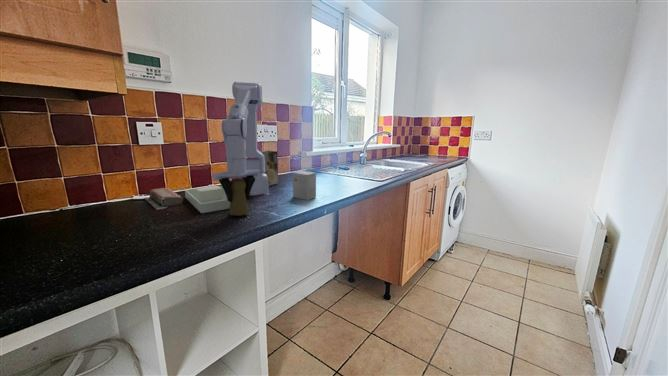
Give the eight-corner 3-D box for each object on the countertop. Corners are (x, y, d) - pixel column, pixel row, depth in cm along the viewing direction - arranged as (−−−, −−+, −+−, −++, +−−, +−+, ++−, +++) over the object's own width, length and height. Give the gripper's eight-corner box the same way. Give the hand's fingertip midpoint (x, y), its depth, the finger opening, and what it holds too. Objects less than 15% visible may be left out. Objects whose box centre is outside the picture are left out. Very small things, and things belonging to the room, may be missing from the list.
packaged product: (142, 189, 103) (172, 185, 110) (144, 201, 104) (173, 197, 111) (155, 199, 91) (188, 195, 97) (157, 213, 92) (189, 208, 98)
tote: (223, 195, 115) (222, 185, 114) (243, 208, 98) (243, 197, 97) (185, 200, 106) (184, 190, 105) (201, 216, 90) (200, 204, 89)
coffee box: (269, 181, 142) (268, 150, 138) (278, 183, 139) (278, 151, 135) (255, 185, 134) (254, 151, 130) (265, 186, 131) (264, 152, 127)
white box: (217, 195, 110) (217, 185, 109) (222, 198, 106) (222, 188, 105) (196, 198, 105) (195, 188, 104) (200, 202, 101) (199, 191, 100)
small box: (316, 197, 115) (316, 172, 113) (307, 200, 111) (308, 174, 108) (301, 194, 119) (301, 170, 117) (292, 197, 115) (292, 172, 112)
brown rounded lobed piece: (237, 216, 87) (235, 182, 84) (225, 213, 90) (223, 179, 87) (252, 211, 92) (251, 179, 89) (240, 208, 95) (238, 177, 93)
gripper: (216, 161, 79) (219, 206, 83) (263, 158, 88) (264, 199, 91) (208, 158, 85) (212, 201, 88) (254, 155, 94) (255, 194, 97)
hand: (238, 199), depth 90 cm, fingers closed on brown rounded lobed piece, 5 cm apart
